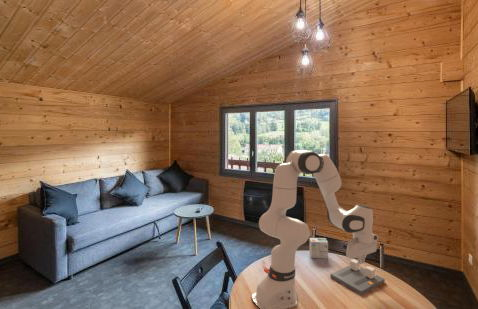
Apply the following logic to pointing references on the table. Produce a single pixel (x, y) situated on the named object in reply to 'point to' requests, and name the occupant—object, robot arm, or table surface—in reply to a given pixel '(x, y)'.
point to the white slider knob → (354, 264)
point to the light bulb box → (318, 248)
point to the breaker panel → (356, 279)
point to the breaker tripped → (370, 272)
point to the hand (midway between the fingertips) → (361, 263)
